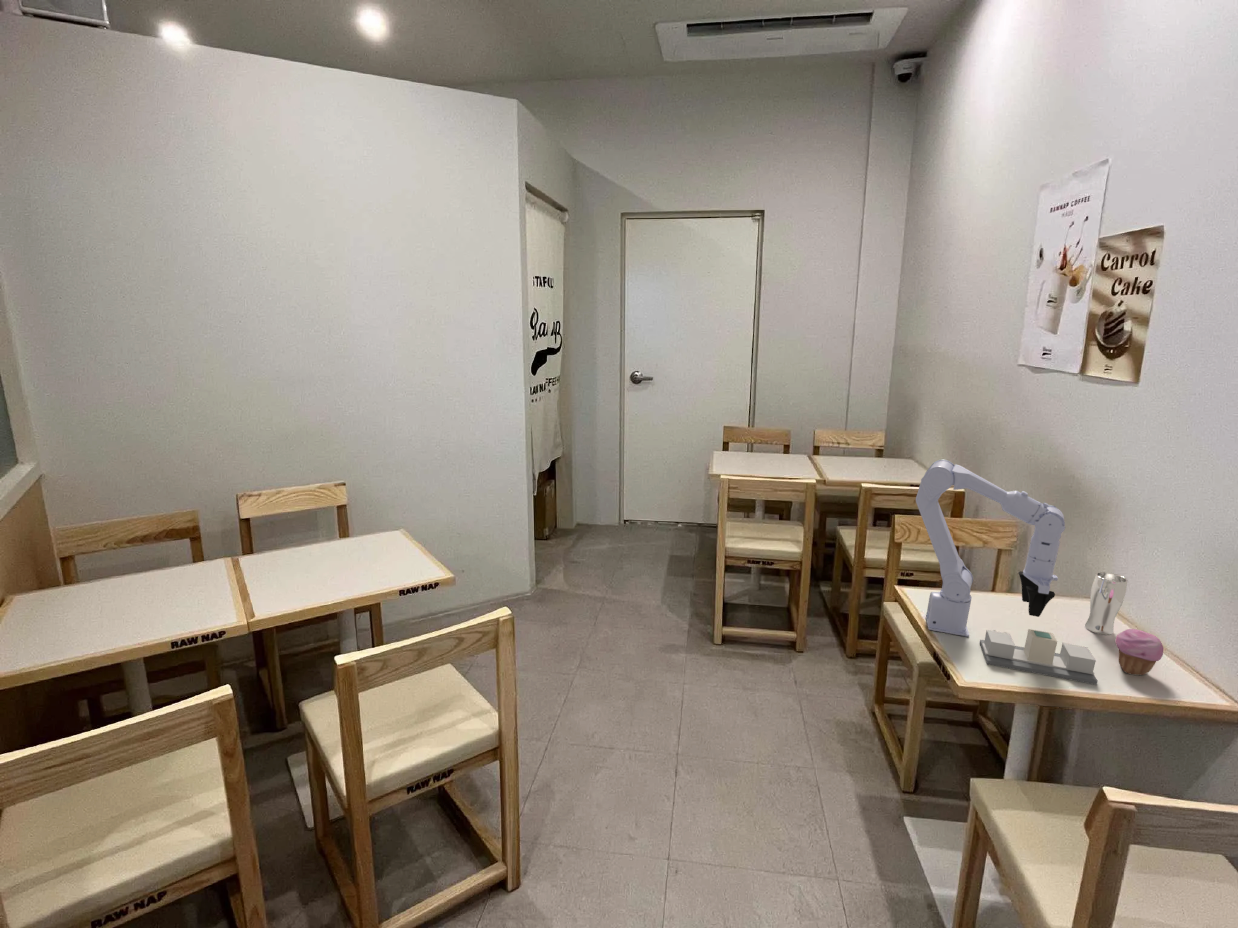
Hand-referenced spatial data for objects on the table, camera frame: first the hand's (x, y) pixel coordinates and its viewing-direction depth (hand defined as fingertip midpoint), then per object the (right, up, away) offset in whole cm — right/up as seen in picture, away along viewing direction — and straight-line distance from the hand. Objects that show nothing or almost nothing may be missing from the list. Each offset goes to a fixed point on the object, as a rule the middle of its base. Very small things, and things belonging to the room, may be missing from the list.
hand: (1030, 608), depth 158 cm
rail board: (-2, -12, -5) cm, 13 cm away
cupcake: (+20, -13, -7) cm, 25 cm away
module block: (-1, -11, -5) cm, 12 cm away
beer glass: (+25, -8, +12) cm, 29 cm away
